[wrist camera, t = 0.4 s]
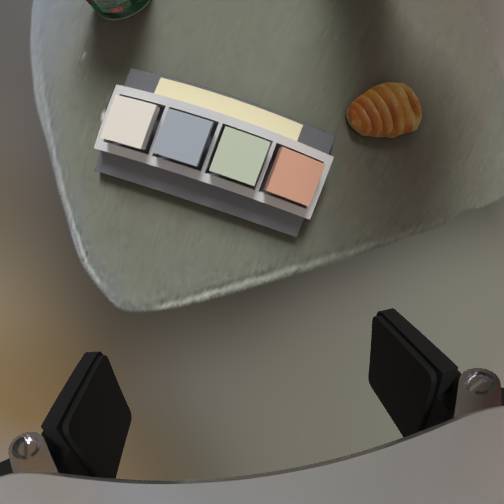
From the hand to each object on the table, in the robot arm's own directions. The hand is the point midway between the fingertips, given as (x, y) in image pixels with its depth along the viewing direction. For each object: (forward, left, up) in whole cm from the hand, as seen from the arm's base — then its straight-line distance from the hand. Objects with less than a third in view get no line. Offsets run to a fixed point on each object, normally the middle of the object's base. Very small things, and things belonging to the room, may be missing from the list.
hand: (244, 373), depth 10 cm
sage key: (-7, -2, -23) cm, 24 cm away
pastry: (-19, +13, -27) cm, 35 cm away
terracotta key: (-7, +4, -23) cm, 24 cm away
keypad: (-7, -4, -27) cm, 28 cm away
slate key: (-7, -7, -23) cm, 25 cm away
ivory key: (-7, -13, -23) cm, 27 cm away
